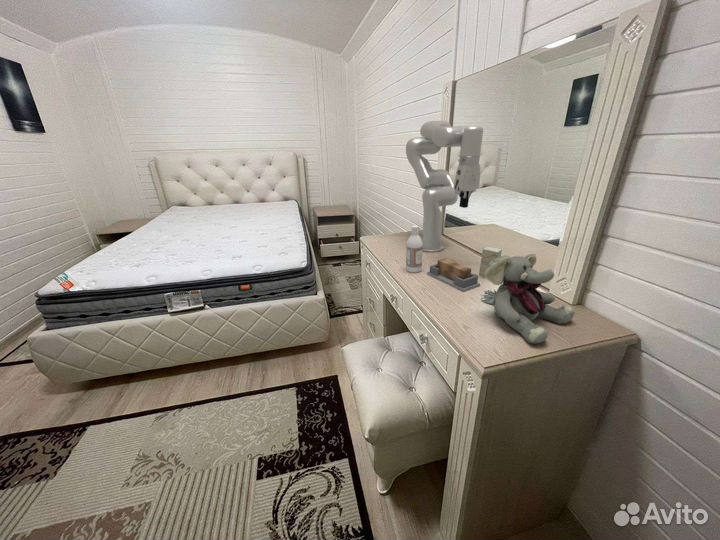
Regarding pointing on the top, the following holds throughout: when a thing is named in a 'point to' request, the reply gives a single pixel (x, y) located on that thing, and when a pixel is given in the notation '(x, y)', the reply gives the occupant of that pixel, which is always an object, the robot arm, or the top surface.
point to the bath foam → (414, 251)
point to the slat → (453, 269)
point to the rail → (455, 280)
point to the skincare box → (488, 258)
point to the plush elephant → (523, 296)
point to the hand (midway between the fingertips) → (463, 206)
